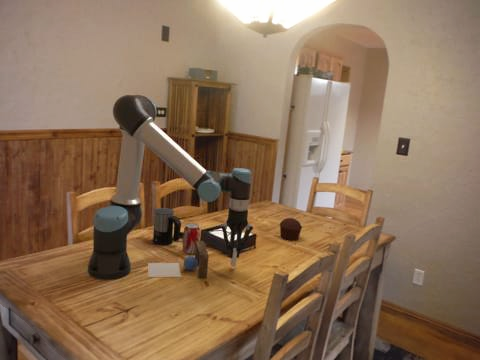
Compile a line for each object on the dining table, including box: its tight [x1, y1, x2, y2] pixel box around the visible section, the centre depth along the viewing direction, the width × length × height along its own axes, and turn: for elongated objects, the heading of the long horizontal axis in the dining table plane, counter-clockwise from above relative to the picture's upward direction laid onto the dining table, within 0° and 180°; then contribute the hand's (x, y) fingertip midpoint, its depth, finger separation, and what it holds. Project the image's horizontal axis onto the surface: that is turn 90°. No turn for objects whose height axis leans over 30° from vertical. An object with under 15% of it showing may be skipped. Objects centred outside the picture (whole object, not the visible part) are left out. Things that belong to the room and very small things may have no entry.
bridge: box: [194, 240, 210, 279], centre depth 155 cm, size 3×14×9 cm, turn 13°
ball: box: [183, 255, 199, 272], centre depth 154 cm, size 6×6×6 cm
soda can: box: [182, 223, 201, 255], centre depth 171 cm, size 7×7×12 cm
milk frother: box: [151, 207, 184, 246], centre depth 182 cm, size 14×16×15 cm
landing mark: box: [147, 262, 182, 279], centre depth 153 cm, size 12×12×1 cm
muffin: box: [279, 217, 303, 242], centre depth 201 cm, size 12×11×10 cm
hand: (233, 265), depth 159 cm, fingers closed
